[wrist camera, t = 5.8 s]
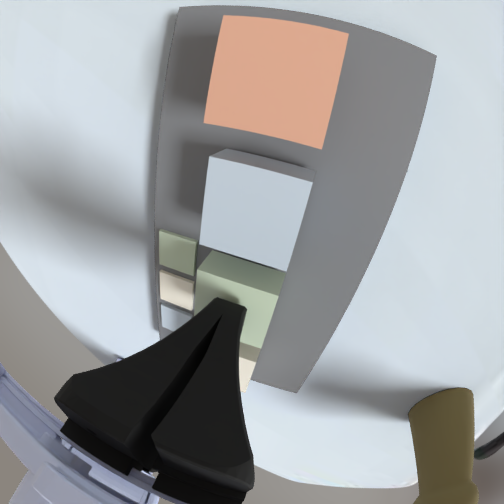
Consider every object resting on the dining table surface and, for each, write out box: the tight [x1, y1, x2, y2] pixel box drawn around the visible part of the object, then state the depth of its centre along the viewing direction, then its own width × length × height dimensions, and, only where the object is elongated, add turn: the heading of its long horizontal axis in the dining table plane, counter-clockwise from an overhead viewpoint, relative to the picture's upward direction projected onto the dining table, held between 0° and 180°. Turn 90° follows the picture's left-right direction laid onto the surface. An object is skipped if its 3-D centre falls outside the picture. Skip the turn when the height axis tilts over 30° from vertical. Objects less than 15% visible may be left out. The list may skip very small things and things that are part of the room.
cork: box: [408, 388, 479, 504], centre depth 12 cm, size 6×6×11 cm
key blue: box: [199, 148, 316, 272], centre depth 10 cm, size 3×3×2 cm
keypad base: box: [155, 6, 437, 393], centre depth 13 cm, size 20×10×1 cm, turn 169°
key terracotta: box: [203, 15, 349, 150], centre depth 7 cm, size 3×3×2 cm
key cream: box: [239, 342, 261, 393], centre depth 15 cm, size 3×3×2 cm
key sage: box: [194, 250, 286, 349], centre depth 13 cm, size 3×3×2 cm
